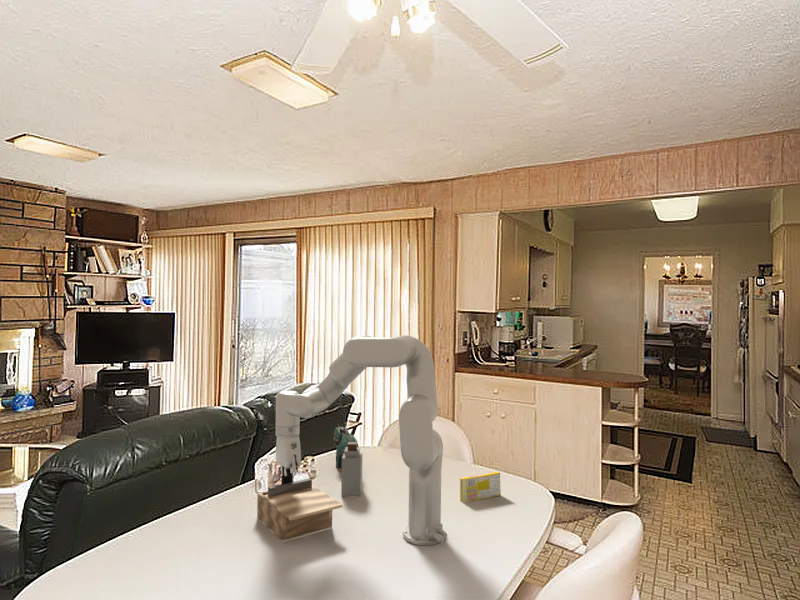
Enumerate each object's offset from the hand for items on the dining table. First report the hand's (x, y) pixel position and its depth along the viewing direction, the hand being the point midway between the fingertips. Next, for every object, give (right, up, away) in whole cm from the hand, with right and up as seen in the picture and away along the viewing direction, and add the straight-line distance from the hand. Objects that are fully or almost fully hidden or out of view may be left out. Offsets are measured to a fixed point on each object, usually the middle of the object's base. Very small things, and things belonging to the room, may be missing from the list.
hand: (287, 487), depth 166 cm
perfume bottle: (+19, -10, +22) cm, 30 cm away
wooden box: (+3, -10, -4) cm, 11 cm away
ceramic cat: (+15, -10, +44) cm, 47 cm away
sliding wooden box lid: (+7, -1, -9) cm, 11 cm away
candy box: (+65, -11, +18) cm, 68 cm away
